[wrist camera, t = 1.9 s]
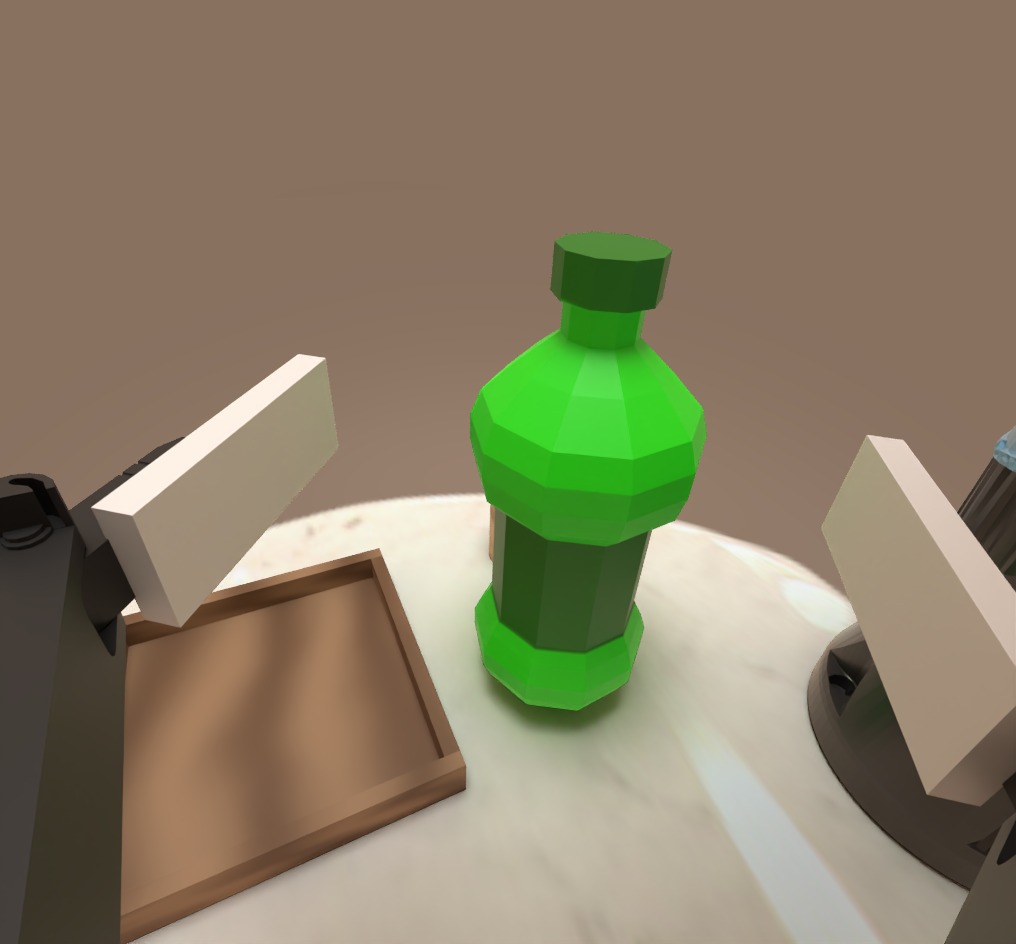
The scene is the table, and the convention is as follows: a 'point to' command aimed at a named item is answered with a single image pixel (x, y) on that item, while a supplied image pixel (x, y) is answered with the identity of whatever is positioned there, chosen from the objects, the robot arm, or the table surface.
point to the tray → (272, 735)
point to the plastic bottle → (581, 476)
